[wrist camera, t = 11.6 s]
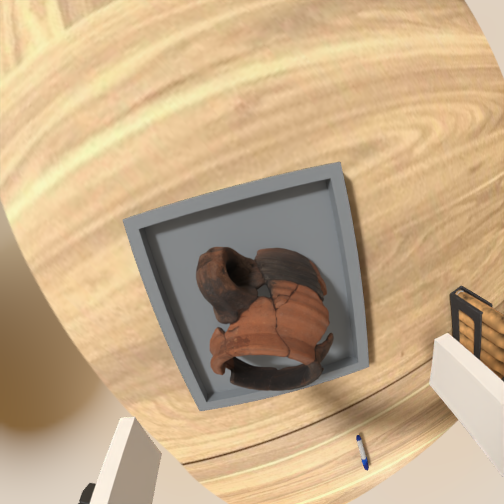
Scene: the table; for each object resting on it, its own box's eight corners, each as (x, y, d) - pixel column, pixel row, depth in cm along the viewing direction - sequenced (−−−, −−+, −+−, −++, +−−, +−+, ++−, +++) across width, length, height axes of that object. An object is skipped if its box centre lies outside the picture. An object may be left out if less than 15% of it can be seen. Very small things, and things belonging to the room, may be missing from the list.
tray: (331, 163, 22) (340, 161, 20) (361, 355, 26) (368, 366, 24) (131, 216, 22) (122, 219, 20) (201, 397, 26) (199, 411, 24)
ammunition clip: (463, 353, 28) (521, 404, 16) (453, 361, 28) (510, 415, 16) (461, 284, 25) (541, 331, 14) (449, 293, 25) (530, 343, 14)
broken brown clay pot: (347, 288, 24) (359, 378, 18) (260, 324, 28) (253, 403, 22) (257, 184, 18) (241, 287, 12) (164, 250, 23) (129, 339, 17)
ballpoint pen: (369, 465, 32) (371, 469, 31) (363, 468, 32) (366, 472, 31) (358, 433, 29) (361, 438, 28) (352, 436, 29) (355, 441, 28)
